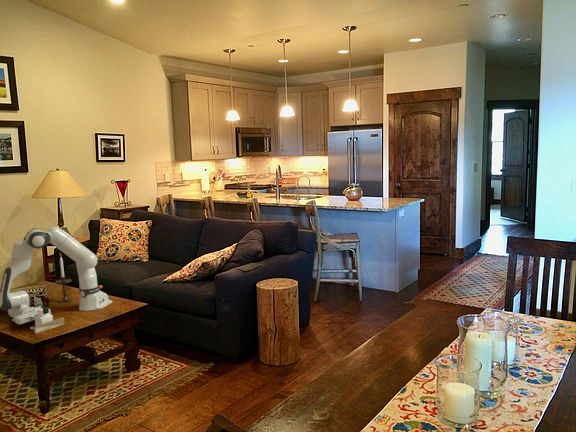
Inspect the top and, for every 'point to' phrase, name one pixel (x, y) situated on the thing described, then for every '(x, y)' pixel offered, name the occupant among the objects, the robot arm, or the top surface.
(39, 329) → the beige flat block
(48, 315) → the medicine bottle
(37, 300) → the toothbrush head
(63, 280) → the candlestick
